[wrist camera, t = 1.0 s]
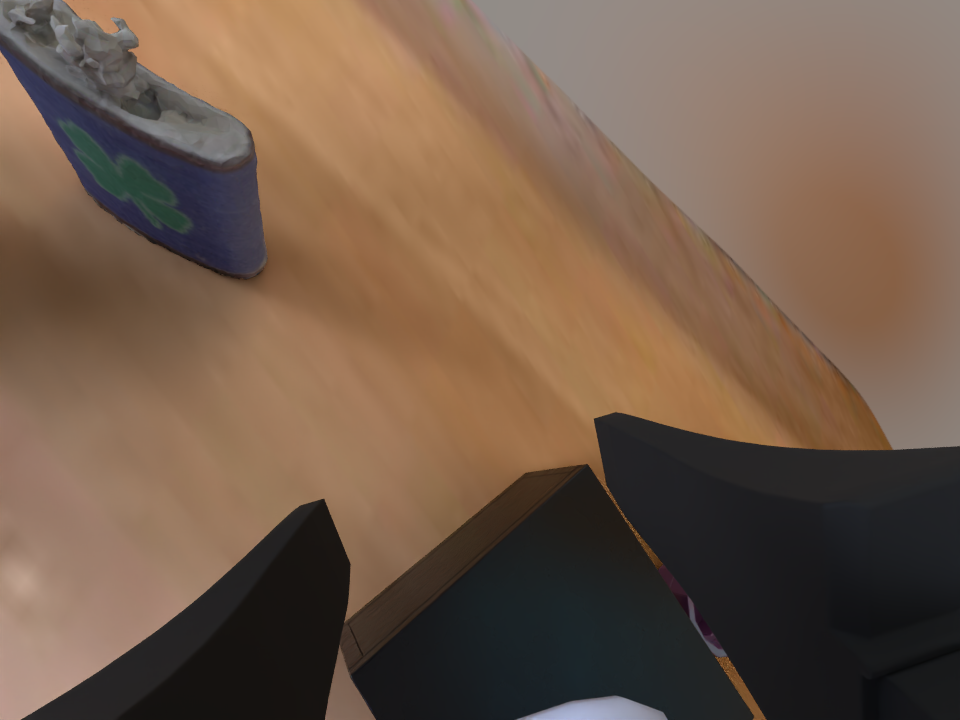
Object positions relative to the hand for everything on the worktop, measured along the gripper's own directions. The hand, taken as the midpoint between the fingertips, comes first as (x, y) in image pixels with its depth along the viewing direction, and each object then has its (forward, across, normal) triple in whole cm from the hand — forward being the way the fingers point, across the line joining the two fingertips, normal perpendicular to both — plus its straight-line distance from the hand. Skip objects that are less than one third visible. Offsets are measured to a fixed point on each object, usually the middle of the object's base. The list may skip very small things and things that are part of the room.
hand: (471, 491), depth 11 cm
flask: (+16, +11, -10) cm, 22 cm away
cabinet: (+8, +1, +14) cm, 16 cm away
